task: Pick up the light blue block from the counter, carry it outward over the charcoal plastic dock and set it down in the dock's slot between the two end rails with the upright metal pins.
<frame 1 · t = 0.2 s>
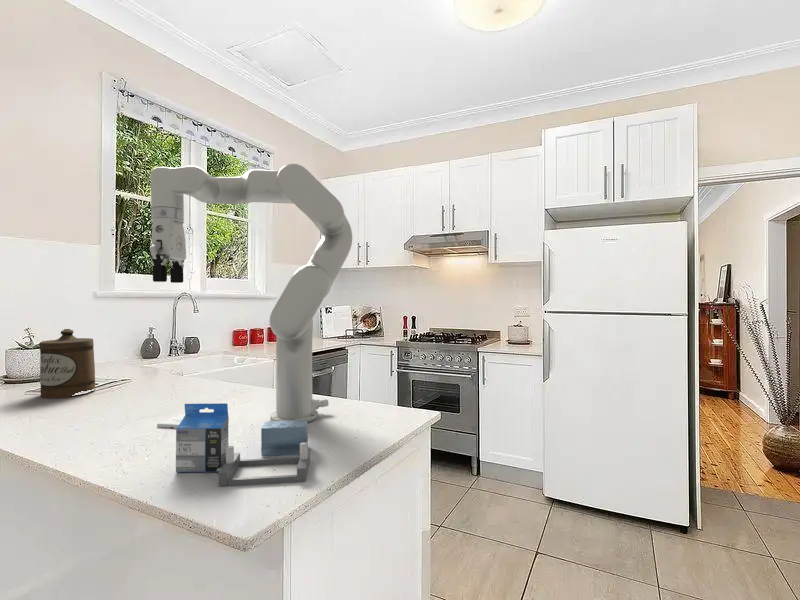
hand: (168, 282, 114), 37 cm above the table, tool pointing down, fingers open, 9 cm apart
external hard drive: (187, 423, 116), on the table
light blue block: (285, 451, 93), on the table
dock: (267, 472, 82), on the table
label tape box: (202, 469, 84), on the table
wooden container: (68, 394, 148), on the table
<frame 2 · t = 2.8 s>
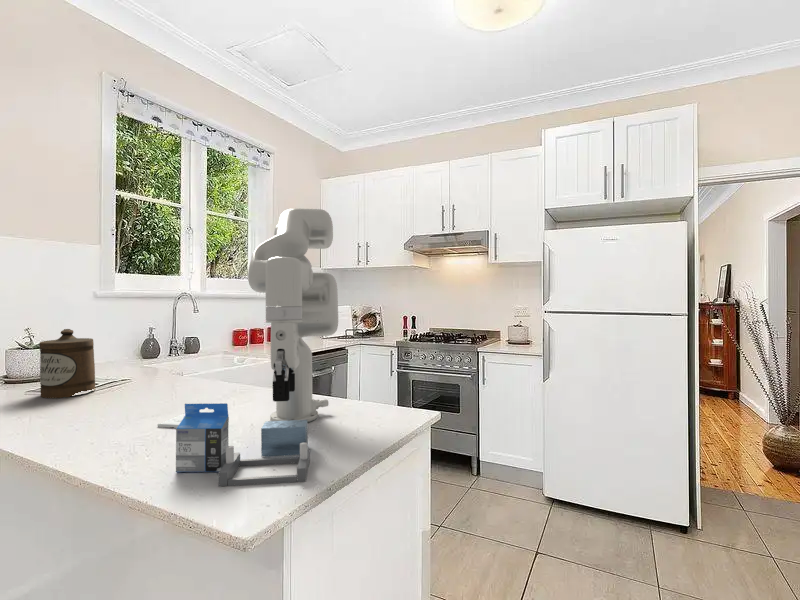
hand: (284, 395, 93), 12 cm above the table, tool pointing down, fingers open, 9 cm apart
nothing on the table moved.
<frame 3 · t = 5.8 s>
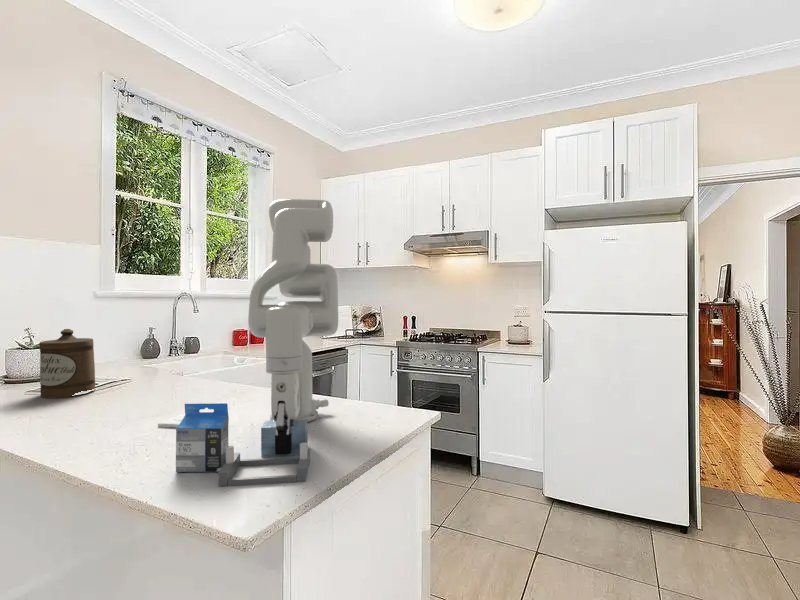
hand: (285, 448, 93), 1 cm above the table, tool pointing down, fingers closed on light blue block, 5 cm apart
light blue block: (285, 451, 93), on the table, touching gripper
everything else where it was.
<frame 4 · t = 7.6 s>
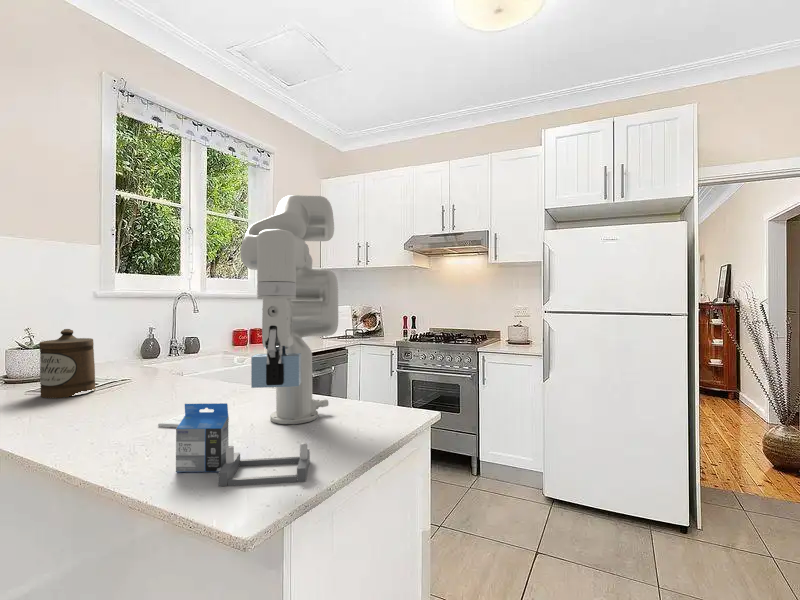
hand: (277, 381, 88), 16 cm above the table, tool pointing down, fingers closed on light blue block, 5 cm apart
light blue block: (277, 384, 88), point 15 cm above the table, touching gripper
everything else where it was.
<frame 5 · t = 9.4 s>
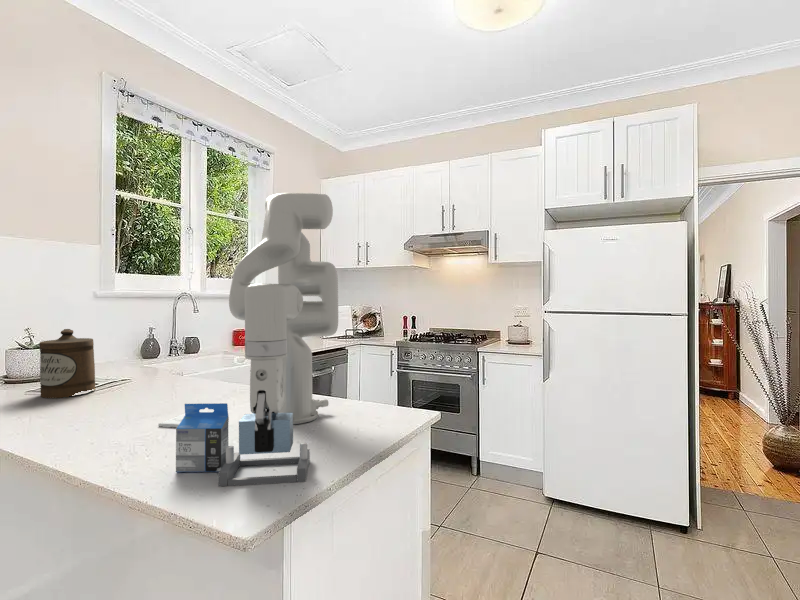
hand: (266, 445, 82), 5 cm above the table, tool pointing down, fingers closed on light blue block, 5 cm apart
light blue block: (267, 448, 82), point 5 cm above the table, touching gripper
everything else where it was.
when the fingers open (2 cm above the table, at t = 10.7 s): light blue block drops 2 cm, resting in dock.
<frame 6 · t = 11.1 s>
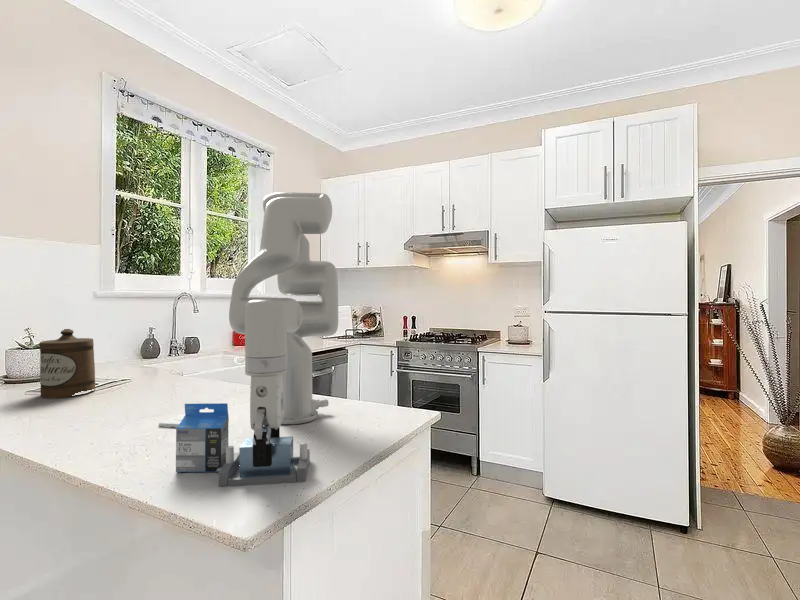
hand: (267, 456, 82), 3 cm above the table, tool pointing down, fingers open, 9 cm apart
light blue block: (267, 473, 82), resting in dock
everything else where it was.
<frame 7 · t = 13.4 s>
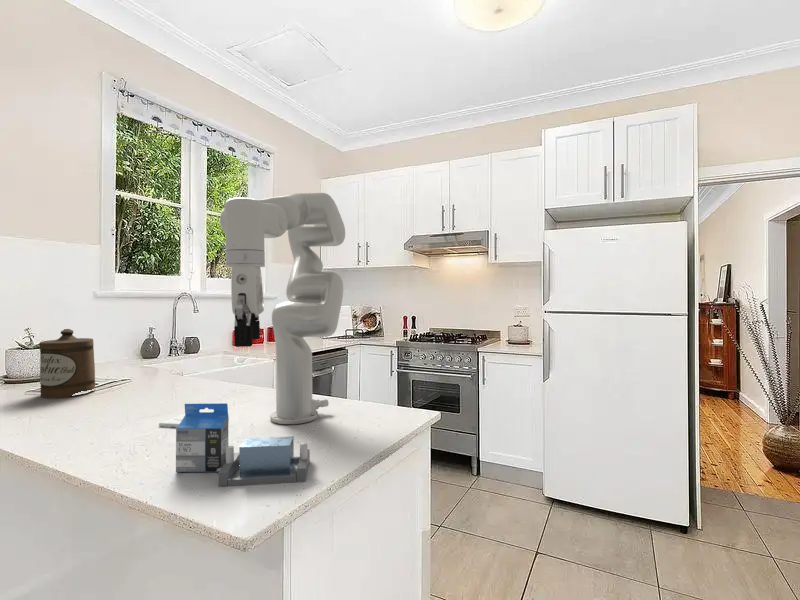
hand: (248, 342, 90), 24 cm above the table, tool pointing down, fingers open, 9 cm apart
nothing on the table moved.
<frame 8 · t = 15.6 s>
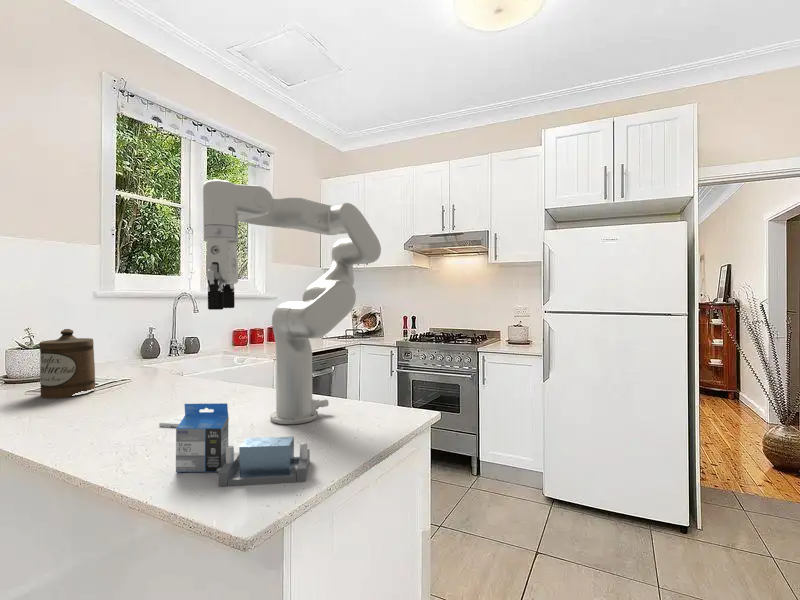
hand: (221, 308, 102), 30 cm above the table, tool pointing down, fingers open, 9 cm apart
nothing on the table moved.
at the end: light blue block 0.3 cm off-centre on the dock, point 0.0 cm above the dock's base; light blue block tilted 0°; the gripper is holding nothing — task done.
